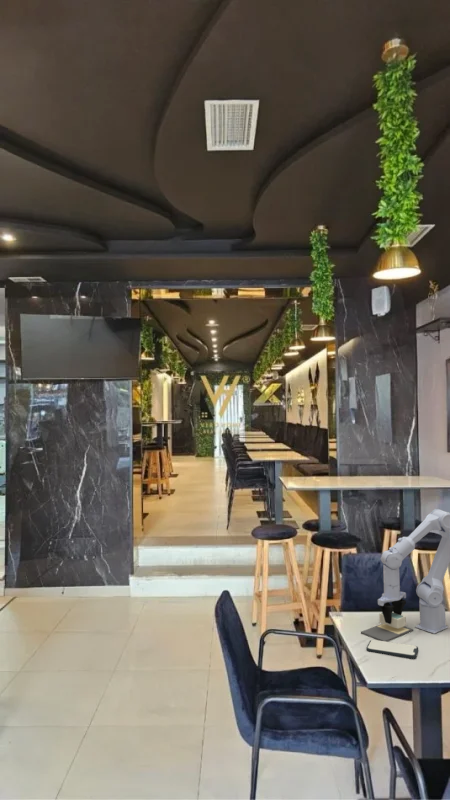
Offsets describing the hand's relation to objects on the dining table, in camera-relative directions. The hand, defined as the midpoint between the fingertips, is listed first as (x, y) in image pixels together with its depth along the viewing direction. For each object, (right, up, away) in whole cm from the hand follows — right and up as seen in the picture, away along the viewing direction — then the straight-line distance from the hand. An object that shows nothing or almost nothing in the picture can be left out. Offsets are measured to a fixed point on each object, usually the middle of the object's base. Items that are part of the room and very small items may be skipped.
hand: (392, 621), depth 193 cm
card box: (0, -1, 0) cm, 1 cm away
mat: (-3, -3, -2) cm, 5 cm away
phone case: (-6, -3, -18) cm, 19 cm away
